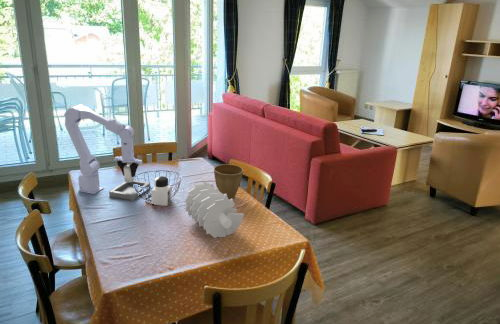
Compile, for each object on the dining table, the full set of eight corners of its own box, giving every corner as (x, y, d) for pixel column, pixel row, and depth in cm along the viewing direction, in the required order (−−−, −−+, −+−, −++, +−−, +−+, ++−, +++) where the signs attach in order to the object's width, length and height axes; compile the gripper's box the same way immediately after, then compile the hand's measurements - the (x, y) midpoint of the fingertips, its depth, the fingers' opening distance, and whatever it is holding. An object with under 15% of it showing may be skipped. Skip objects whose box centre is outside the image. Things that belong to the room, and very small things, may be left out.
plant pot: (229, 206, 186) (230, 177, 181) (207, 197, 194) (207, 168, 189) (247, 197, 198) (249, 169, 192) (225, 189, 206) (227, 161, 200)
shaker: (122, 181, 191) (121, 167, 188) (127, 178, 195) (126, 163, 192) (130, 183, 190) (129, 168, 187) (135, 179, 194) (134, 165, 191)
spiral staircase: (216, 251, 157) (190, 222, 176) (250, 226, 163) (221, 200, 181) (201, 221, 146) (175, 193, 165) (237, 196, 152) (208, 172, 171)
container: (171, 199, 190) (171, 175, 186) (167, 206, 183) (166, 181, 179) (156, 198, 191) (156, 174, 186) (151, 204, 184) (150, 180, 179)
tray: (109, 196, 189) (109, 191, 188) (128, 184, 204) (128, 179, 203) (132, 201, 186) (132, 195, 185) (150, 188, 201) (149, 182, 200)
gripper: (110, 150, 185) (111, 176, 190) (136, 154, 182) (137, 180, 186) (118, 146, 192) (120, 171, 196) (144, 150, 188) (145, 175, 193)
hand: (129, 175), depth 192 cm, fingers closed on shaker, 4 cm apart
